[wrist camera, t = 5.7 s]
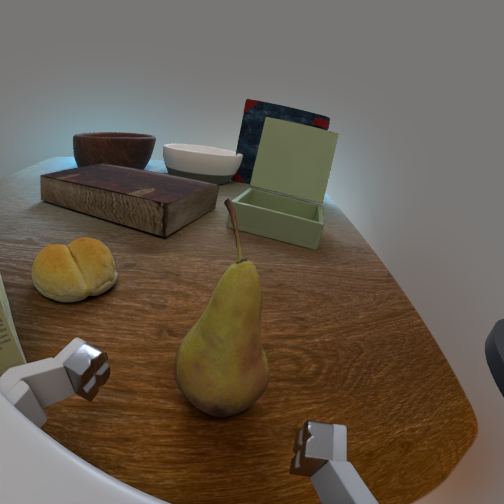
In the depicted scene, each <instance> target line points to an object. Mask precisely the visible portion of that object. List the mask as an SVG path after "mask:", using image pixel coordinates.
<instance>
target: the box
mask: <svg viewBox="0 0 504 504" xmlns="http://www.w3.org/2000/svg"><path fill="white" fill-rule="evenodd" d="M24 364H27V362H26V359H25V357H24V354H23V351H22V348H21V345H20V343H19V339H18V336H17V333H16V330H15V326H14V323H13V319H12V315H11V311H10V307H9V303H8V299H7V296H6V293H5V289H4V286H3V282H2V278H1V275H0V377H1V376H2V375H3V374H4V373H5V372H6V371H7V370H8V369H9V368H12V367H16V366H20V365H24Z"/></svg>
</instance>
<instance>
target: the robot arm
mask: <svg viewBox="0 0 504 504" xmlns="http://www.w3.org/2000/svg"><path fill="white" fill-rule="evenodd" d="M107 359H108V357H107V353H106V352H104V351H102V350H100V349H98V348H96V347H94V346H92V345H91V344H89V343H87V342H85V341H84V340H82V339H80V338H75V339H74V340H72V341H71V342H70V343H69V344H68V345H67V346H66V347H65V348H64V349H63V350H62V351H61V352H60V353H59V354H58V355H57V356H56V357H55V358H54V359H53V358H52V357H51V358H47V359H44V360H40V361H36V362H32V363H28V364H24V365H20V366H16V367H12V368H9V369H8V370H7V371H6V372H5V373H4V374H3V375H2V376H1V377H0V504H171V503H168V502H165V501H163V500H160V499H158V498H156V497H153V496H151V495H149V494H146V493H144V492H142V491H140V490H137V489H135V488H133V487H131V486H129V485H127V484H125V483H123V482H121V481H119V480H117V479H115V478H114V477H112V476H110V475H108V474H106V473H104V472H103V471H101V470H99V469H97V468H96V467H94V466H92V465H91V464H89V463H88V462H86V461H84V460H83V459H81V458H80V457H78V456H77V455H75V454H74V453H72V452H71V451H69V450H68V449H66V448H65V447H63V446H62V445H61V444H59V443H58V442H57V441H55V440H54V439H52V438H51V437H50V436H49V435H47V434H46V433H45V432H43V431H42V430H41V427H42V426H43V425H44V423H45V422H46V421H47V420H48V418H47V415H46V414H45V412H44V411H43V409H42V408H45V407H47V406H49V405H52V404H54V403H56V402H59V401H61V400H63V399H66V398H68V397H70V396H73V395H75V393H76V394H78V395H80V396H81V397H83V398H85V399H87V400H88V401H90V402H91V401H92V400H93V399H94V397H95V396H96V395H97V393H98V392H99V386H102V385H104V384H105V383H106V382H107V380H108V378H109V376H110V366H109V364H108V363H107V361H106V360H107ZM293 451H294V453H295V454H296V455H295V456H294V457H293V458H292V460H291V466H290V472H289V474H294V475H300V476H306V477H310V479H311V482H312V484H313V486H314V488H315V490H316V492H317V494H318V496H319V499H320V501H321V503H322V504H378V502H377V501H376V499H375V498H374V496H373V495H372V493H371V492H370V491H369V489H368V488H367V486H366V485H365V483H364V482H363V480H362V479H361V477H360V476H359V475H358V473H357V472H356V470H355V469H354V467H353V466H352V464H351V463H350V462H347V428H346V426H344V425H337V424H332V423H325V422H318V421H311V420H307V421H306V422H305V423H304V427H303V429H301V430H300V431H299V432H298V434H297V436H296V439H295V443H294V447H293Z"/></svg>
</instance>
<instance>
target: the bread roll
mask: <svg viewBox="0 0 504 504" xmlns="http://www.w3.org/2000/svg"><path fill="white" fill-rule="evenodd" d="M117 276H118V273H117V272H116V271H115V263H114V258H113V255H112V253H111V252H110V250H109V249H108V247H106V246H105V245H104V244H103V243H102V242H100V241H99V240H97V239H94V238H89V237H81V238H78V239H76V240H74V241H73V242H71V243H70V244H68V245H67V246H65V245H61V244H51V245H48V246H47V247H45V248H44V249H42V250H41V251H40V252H39V254H38V255H37V257H36V259H35V260H34V263H33V267H32V278H33V283H34V286H35V287H36V289H37V290H38V291H39V292H40V293H41V294H42V295H43V296H46V297H48V298H50V299H53V300H56V301H59V302H76V301H80V300H83V299H85V298H86V297H87V296H89V295H90V296H98V295H100V294H102V293H103V292H105V291H107V290H109V289H110V288H111V287H112V286H113V285H114V284H115V282H116V279H117Z"/></svg>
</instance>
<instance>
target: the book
mask: <svg viewBox="0 0 504 504" xmlns="http://www.w3.org/2000/svg"><path fill="white" fill-rule="evenodd" d="M266 117H269V118H275V119H280V120H284V121H289V122H294V123H298V124H303V125H307V126H311V127H315V128H319V129H323V130H328V128H329V121H330V118H328V117H326V116H322V115H319V114H315V113H311V112H307V111H303V110H299V109H295V108H290V107H286V106H281V105H276V104H271V103H267V102H261V101H256V100H250V99H247V100H246V103H245V108H244V115H243V120H242V125H241V130H240V135H239V140H238V145H237V151H236V155H237V154H238V153H239V154H242V155H243V158H242V161H241V164H240V167H239V168H238V170H237V172H236V173H235V174H234V176H233V177H232V178H231V180H233V181H237V182H242V183H248V184H250V183H251V178H252V174H253V170H254V165H255V161H256V157H257V153H258V148H259V144H260V140H261V136H262V131H263V127H264V123H265V119H266Z"/></svg>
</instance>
